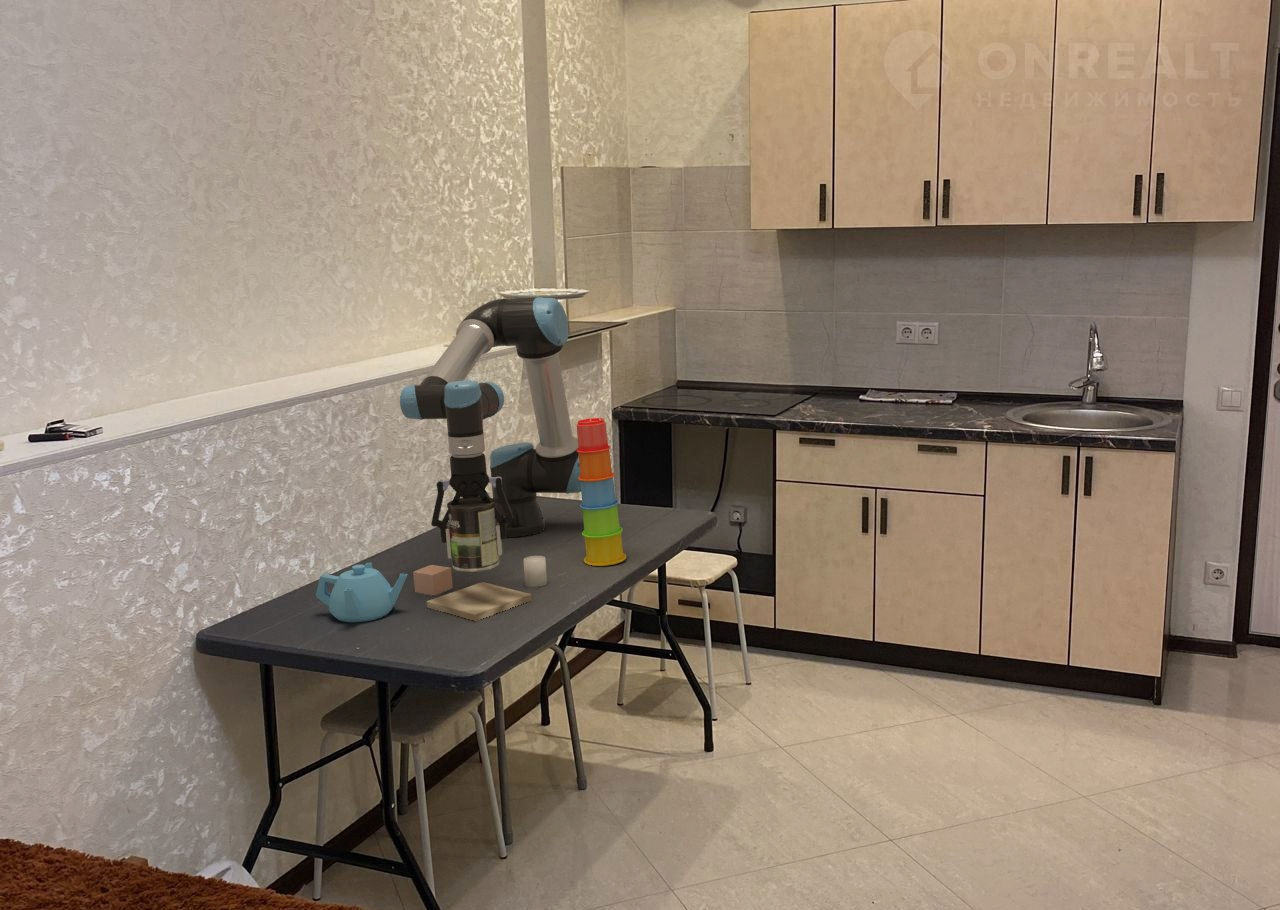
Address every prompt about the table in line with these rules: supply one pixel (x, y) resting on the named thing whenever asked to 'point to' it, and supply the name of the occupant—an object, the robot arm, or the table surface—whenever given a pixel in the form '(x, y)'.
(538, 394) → the robot arm
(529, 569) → the off-white cylinder
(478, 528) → the coffee can
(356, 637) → the table surface
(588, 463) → the stacking cups
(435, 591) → the terracotta block
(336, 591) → the teapot
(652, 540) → the table surface
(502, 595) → the birch board
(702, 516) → the table surface
